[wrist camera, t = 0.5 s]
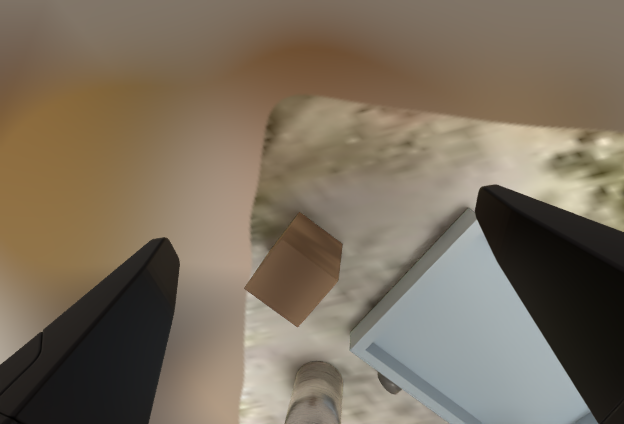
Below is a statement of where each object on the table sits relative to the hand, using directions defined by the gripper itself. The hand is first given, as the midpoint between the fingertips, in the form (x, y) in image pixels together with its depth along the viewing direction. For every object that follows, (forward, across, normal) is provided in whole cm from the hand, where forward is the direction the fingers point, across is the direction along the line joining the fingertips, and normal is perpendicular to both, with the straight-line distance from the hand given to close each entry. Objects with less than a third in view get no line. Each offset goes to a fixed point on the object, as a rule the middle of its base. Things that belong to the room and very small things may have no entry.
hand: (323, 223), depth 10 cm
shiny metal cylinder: (+6, +2, +22) cm, 23 cm away
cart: (+6, -12, +19) cm, 23 cm away
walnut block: (+11, +2, +11) cm, 16 cm away
